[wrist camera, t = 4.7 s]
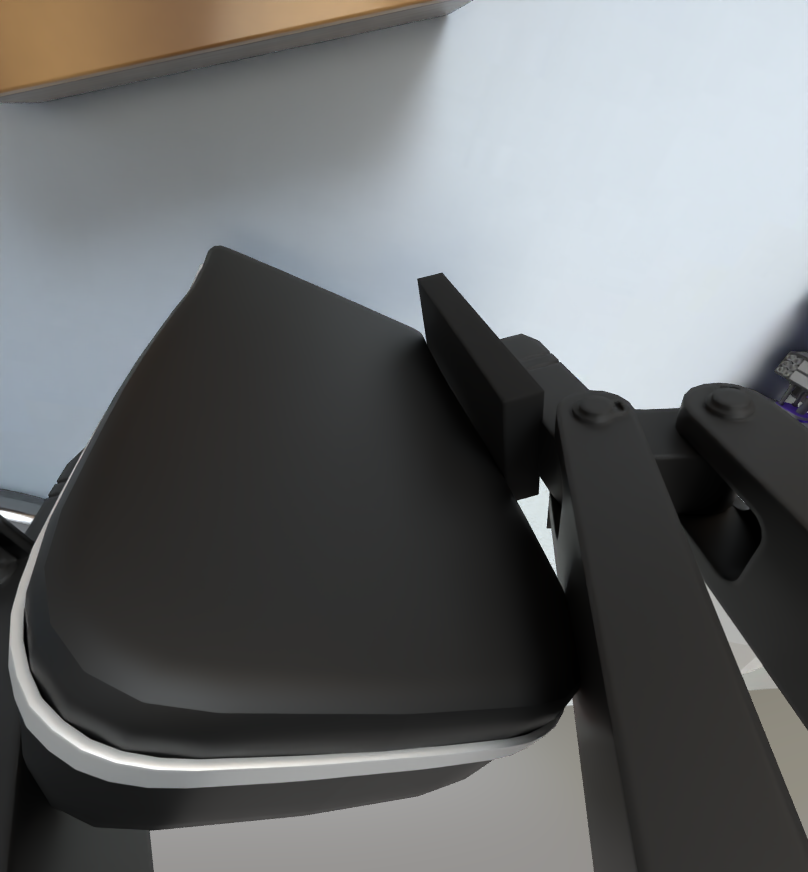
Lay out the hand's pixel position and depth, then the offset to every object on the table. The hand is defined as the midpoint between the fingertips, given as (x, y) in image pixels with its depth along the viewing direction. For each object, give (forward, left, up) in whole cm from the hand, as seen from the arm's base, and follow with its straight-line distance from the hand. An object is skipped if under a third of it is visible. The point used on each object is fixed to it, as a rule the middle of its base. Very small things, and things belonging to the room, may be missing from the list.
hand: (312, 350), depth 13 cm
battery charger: (0, 0, -1) cm, 1 cm away
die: (+24, -31, -5) cm, 40 cm away
